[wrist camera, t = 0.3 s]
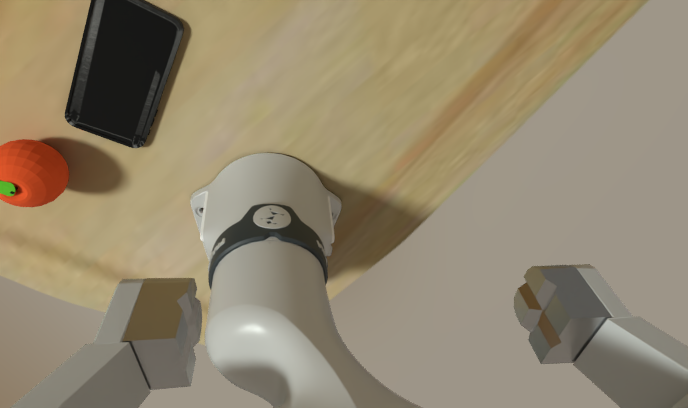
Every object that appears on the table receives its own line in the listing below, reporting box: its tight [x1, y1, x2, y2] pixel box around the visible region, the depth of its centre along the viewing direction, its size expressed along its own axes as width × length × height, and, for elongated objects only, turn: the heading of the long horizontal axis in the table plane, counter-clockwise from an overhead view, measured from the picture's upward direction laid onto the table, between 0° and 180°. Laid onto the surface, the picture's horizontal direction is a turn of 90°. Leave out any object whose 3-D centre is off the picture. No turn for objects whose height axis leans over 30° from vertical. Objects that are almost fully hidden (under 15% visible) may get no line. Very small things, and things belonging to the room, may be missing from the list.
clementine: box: [0, 139, 69, 207], centre depth 42 cm, size 8×7×7 cm
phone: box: [65, 0, 184, 148], centre depth 42 cm, size 8×1×15 cm
